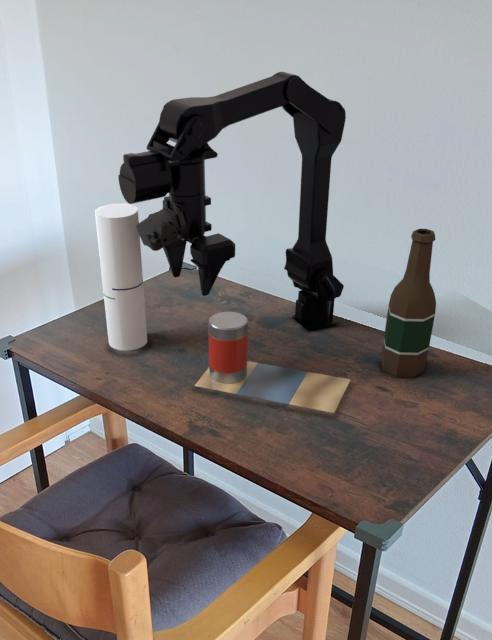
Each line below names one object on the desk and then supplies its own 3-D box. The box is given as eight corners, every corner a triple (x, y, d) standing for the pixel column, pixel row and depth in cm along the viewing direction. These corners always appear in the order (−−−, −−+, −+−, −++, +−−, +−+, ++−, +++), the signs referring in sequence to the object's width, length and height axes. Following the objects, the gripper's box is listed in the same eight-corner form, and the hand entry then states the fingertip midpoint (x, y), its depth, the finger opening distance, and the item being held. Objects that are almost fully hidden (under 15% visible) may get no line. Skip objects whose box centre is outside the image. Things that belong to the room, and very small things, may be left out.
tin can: (237, 361, 132) (237, 308, 126) (253, 378, 127) (254, 324, 121) (203, 369, 130) (202, 315, 124) (218, 387, 125) (217, 332, 119)
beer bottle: (373, 372, 130) (392, 235, 115) (386, 353, 135) (406, 219, 120) (418, 382, 127) (443, 243, 112) (430, 362, 132) (455, 226, 117)
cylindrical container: (142, 356, 136) (131, 218, 121) (104, 353, 138) (89, 216, 122) (151, 338, 142) (142, 204, 126) (115, 335, 143) (102, 202, 128)
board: (350, 384, 127) (350, 379, 126) (333, 418, 119) (334, 412, 118) (218, 360, 135) (218, 355, 134) (194, 390, 127) (194, 385, 126)
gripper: (113, 186, 120) (122, 279, 129) (173, 218, 107) (178, 318, 117) (173, 173, 124) (177, 263, 134) (237, 202, 112) (237, 300, 121)
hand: (190, 285), depth 126 cm, fingers open, 9 cm apart
